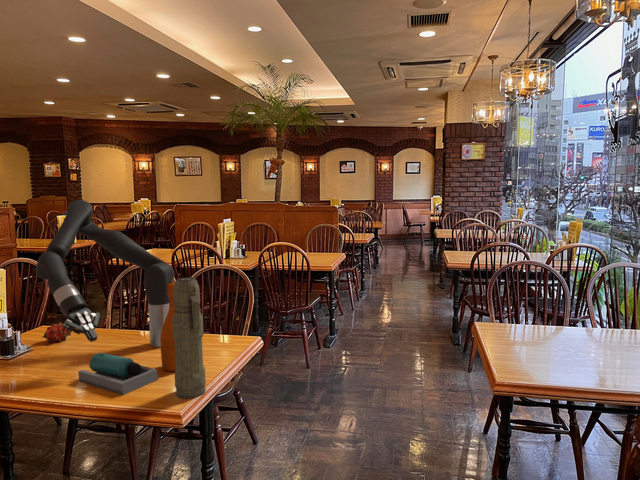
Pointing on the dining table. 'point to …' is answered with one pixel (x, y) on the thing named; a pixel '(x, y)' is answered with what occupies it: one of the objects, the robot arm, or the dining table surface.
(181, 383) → the thermos
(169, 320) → the wine bottle
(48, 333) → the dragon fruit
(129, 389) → the U-rest
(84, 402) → the dining table surface
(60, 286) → the robot arm
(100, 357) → the beverage bottle
